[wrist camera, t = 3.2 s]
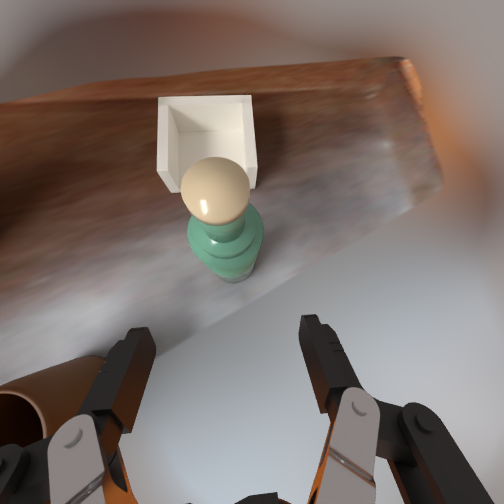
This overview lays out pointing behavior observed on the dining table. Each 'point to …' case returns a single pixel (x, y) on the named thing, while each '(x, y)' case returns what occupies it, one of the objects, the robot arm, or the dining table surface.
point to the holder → (204, 134)
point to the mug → (44, 400)
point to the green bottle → (222, 218)
